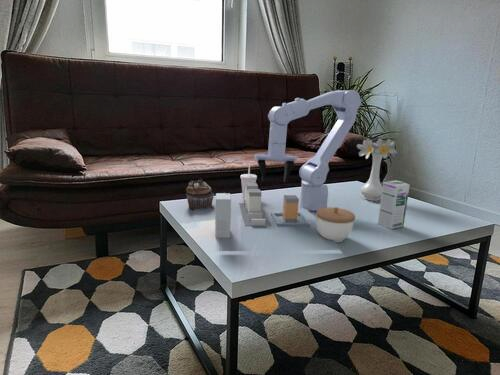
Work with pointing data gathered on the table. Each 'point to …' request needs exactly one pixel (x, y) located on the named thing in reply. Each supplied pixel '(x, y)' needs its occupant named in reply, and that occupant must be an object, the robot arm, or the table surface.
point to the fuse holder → (253, 216)
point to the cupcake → (199, 195)
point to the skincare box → (222, 215)
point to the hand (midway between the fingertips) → (274, 181)
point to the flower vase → (375, 166)
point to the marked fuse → (290, 208)
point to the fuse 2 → (254, 199)
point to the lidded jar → (334, 223)
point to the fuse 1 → (249, 186)
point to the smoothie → (247, 180)
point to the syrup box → (393, 204)
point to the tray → (290, 223)
